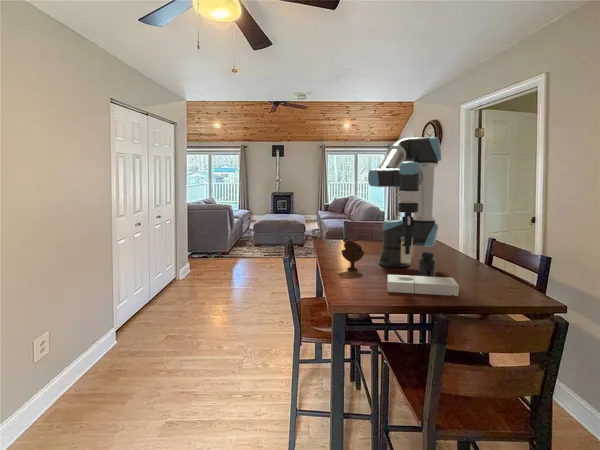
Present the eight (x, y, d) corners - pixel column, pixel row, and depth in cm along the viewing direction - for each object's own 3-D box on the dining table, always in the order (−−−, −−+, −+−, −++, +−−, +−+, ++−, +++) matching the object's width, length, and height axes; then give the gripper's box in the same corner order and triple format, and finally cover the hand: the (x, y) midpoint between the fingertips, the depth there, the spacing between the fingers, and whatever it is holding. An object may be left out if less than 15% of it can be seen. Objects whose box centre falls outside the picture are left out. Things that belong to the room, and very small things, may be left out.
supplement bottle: (436, 282, 161) (437, 254, 160) (419, 281, 162) (420, 254, 161) (433, 278, 168) (434, 251, 166) (417, 277, 169) (418, 251, 168)
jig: (387, 283, 159) (387, 274, 158) (452, 287, 153) (452, 277, 153) (387, 291, 147) (388, 281, 147) (458, 295, 142) (458, 285, 141)
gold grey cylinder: (399, 261, 153) (400, 236, 152) (411, 261, 152) (412, 236, 151) (400, 263, 148) (401, 238, 147) (413, 263, 147) (413, 238, 146)
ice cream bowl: (354, 274, 176) (354, 242, 174) (336, 269, 184) (336, 239, 182) (368, 270, 183) (369, 239, 181) (350, 266, 191) (351, 237, 189)
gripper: (397, 201, 157) (395, 256, 159) (399, 203, 140) (397, 264, 142) (416, 201, 155) (414, 257, 158) (420, 203, 138) (418, 265, 141)
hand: (406, 260), depth 150 cm, fingers closed on gold grey cylinder, 4 cm apart
